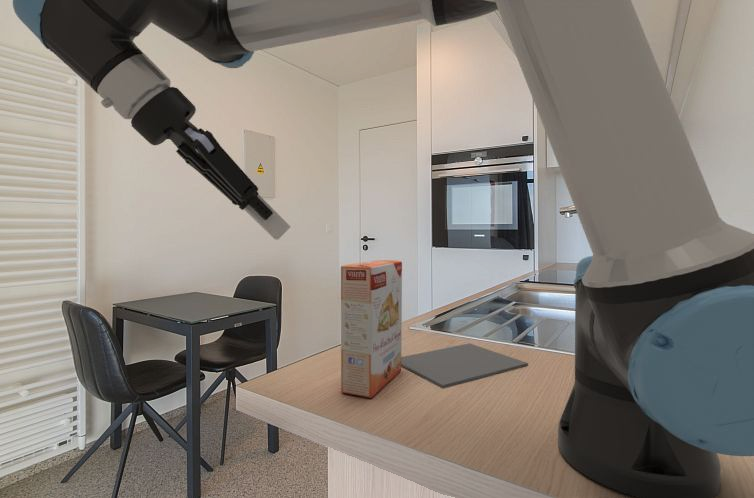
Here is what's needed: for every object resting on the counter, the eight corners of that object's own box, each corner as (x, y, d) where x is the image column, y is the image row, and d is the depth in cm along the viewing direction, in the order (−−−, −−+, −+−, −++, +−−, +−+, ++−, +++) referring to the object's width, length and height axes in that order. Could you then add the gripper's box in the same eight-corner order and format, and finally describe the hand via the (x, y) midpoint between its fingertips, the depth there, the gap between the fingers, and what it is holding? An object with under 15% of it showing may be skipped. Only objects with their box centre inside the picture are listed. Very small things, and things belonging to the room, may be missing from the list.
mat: (528, 365, 76) (528, 363, 76) (442, 388, 65) (442, 385, 65) (469, 345, 90) (469, 343, 90) (391, 361, 79) (391, 358, 79)
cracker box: (373, 400, 61) (372, 265, 60) (339, 394, 63) (337, 264, 62) (404, 370, 74) (403, 259, 73) (374, 366, 76) (373, 259, 75)
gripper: (129, 133, 55) (255, 249, 64) (124, 106, 43) (278, 253, 52) (171, 101, 57) (286, 217, 66) (177, 67, 46) (315, 213, 55)
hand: (282, 233), depth 59 cm, fingers closed
